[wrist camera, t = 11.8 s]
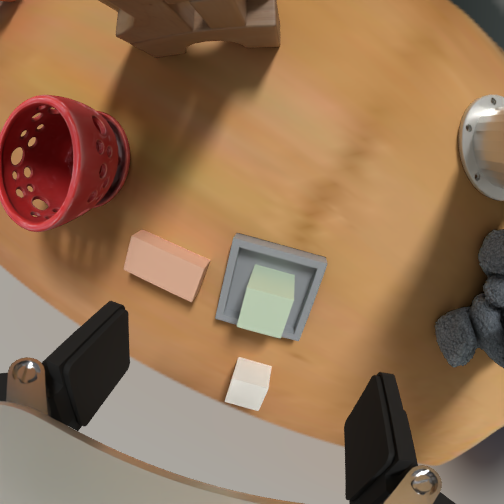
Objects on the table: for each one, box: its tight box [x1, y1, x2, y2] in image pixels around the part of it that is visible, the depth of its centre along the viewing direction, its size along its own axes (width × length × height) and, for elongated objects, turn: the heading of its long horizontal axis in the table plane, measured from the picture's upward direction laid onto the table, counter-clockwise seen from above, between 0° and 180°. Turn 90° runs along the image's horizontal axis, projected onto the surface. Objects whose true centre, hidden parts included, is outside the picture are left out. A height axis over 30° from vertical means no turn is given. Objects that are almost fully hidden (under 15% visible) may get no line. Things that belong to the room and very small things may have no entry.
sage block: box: [237, 264, 295, 339], centre depth 33 cm, size 4×4×6 cm
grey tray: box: [215, 233, 327, 341], centre depth 35 cm, size 10×10×2 cm
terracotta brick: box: [124, 229, 211, 302], centre depth 36 cm, size 9×4×3 cm, turn 68°
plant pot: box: [0, 95, 130, 232], centre depth 28 cm, size 13×13×12 cm
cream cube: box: [225, 357, 272, 411], centre depth 39 cm, size 4×4×4 cm
